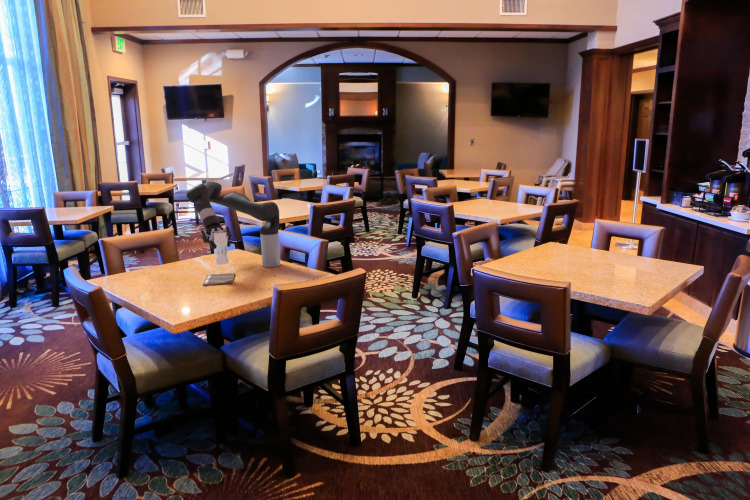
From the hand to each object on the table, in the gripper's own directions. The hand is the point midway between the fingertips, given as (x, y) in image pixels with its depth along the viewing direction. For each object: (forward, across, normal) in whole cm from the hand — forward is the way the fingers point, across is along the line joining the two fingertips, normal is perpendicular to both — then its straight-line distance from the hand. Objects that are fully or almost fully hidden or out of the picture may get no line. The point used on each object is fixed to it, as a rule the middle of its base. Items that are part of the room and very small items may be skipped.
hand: (221, 247), depth 254 cm
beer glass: (+5, 0, -7) cm, 8 cm away
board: (+10, +2, -13) cm, 17 cm away
